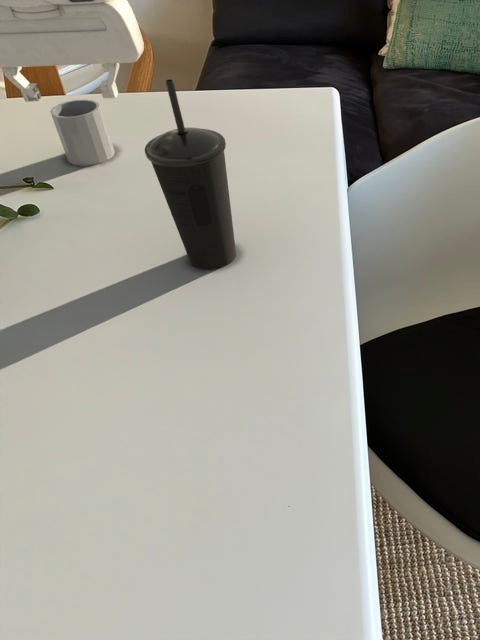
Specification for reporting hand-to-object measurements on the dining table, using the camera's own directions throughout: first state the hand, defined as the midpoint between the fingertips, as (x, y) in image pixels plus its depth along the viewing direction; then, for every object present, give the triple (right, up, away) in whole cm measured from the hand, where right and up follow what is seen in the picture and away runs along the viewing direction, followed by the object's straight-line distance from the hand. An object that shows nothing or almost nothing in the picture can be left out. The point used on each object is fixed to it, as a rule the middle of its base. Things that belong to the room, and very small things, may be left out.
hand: (72, 98), depth 99 cm
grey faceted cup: (0, -6, +5) cm, 8 cm away
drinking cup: (+22, -22, -13) cm, 34 cm away
